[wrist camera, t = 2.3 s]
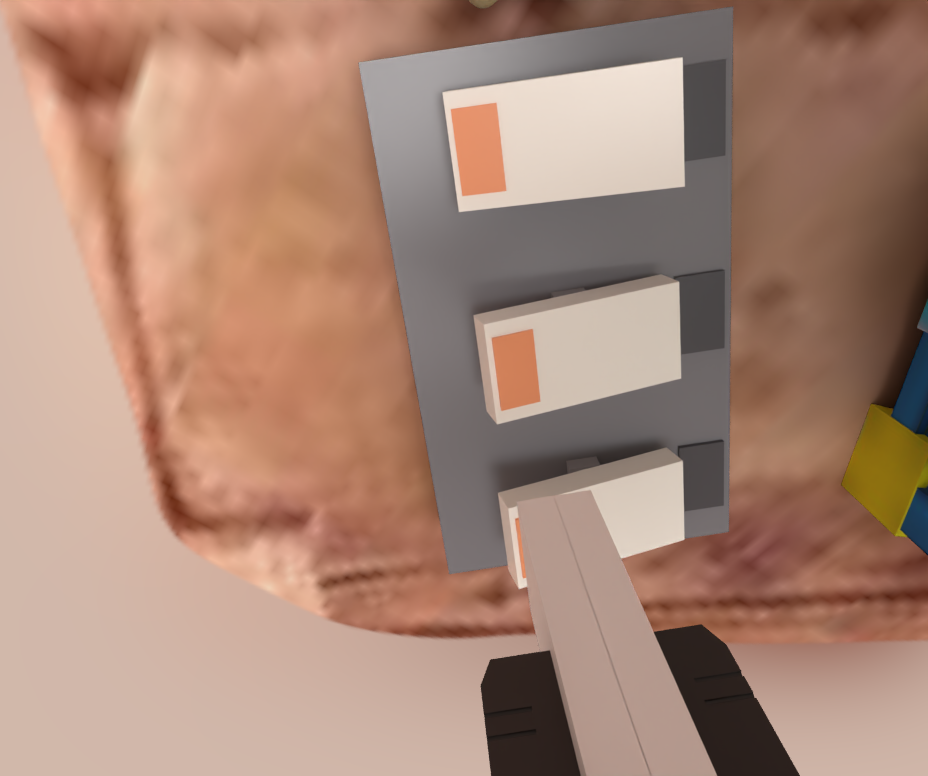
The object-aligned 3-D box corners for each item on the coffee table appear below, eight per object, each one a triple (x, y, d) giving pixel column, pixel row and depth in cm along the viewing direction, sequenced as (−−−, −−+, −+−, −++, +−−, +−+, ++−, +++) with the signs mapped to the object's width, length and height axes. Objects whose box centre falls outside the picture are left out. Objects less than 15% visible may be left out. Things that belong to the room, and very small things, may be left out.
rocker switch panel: (689, 16, 27) (742, 4, 22) (695, 483, 35) (735, 541, 30) (366, 65, 27) (356, 62, 22) (445, 521, 35) (450, 584, 30)
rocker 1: (676, 57, 22) (683, 57, 21) (679, 179, 23) (685, 187, 22) (449, 90, 23) (441, 92, 22) (465, 204, 25) (458, 212, 23)
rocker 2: (658, 273, 26) (680, 282, 25) (661, 365, 27) (682, 379, 26) (471, 313, 25) (484, 325, 23) (484, 408, 26) (497, 425, 25)
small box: (664, 445, 29) (684, 461, 27) (666, 521, 30) (686, 541, 29) (496, 490, 27) (509, 510, 26) (507, 567, 29) (519, 590, 27)
